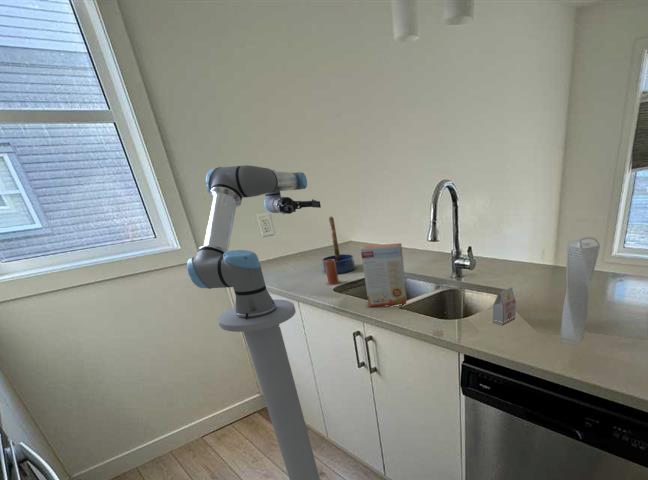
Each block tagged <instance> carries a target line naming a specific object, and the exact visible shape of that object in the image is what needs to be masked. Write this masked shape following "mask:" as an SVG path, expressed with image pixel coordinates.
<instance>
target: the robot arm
mask: <svg viewBox="0 0 648 480" xmlns="http://www.w3.org/2000/svg"><path fill="white" fill-rule="evenodd" d="M205 184H206V189H207V192H208V194H209V196H210V198H211V199H212V203H211V209H210V213H209V218H208V222H207V227H206V232H205V237H204V240H203V246H200V247H199V248H198V249H197V253H196V256H191V258H189V259H188V260H187V262H186V271H187V273H188V276H189V278H190V280H191V282H192V283H193V284H194V285H195V286H196V287H197V288H199V289H209V290H211V289H222V288H223V289H225V288H232V289H233V293H234V294H235V307H236V309H235V312H236V315H237V317H239V318H245V319H247V318H257V317H261V316H265V315H268V314H270V313H272V312H274V311H275V310H276V304H275V302H274V301H273V300H274V299H273V297H272V296H271V294H270V293H269V291H268V290H267V286H266V282H265V278H264V274H263V271H262V266H261V265H262V264H261V262H260V260H259V257H258V255H257V254H256V253H255V252H254V251H251V250H246V249H236V250H234V249H233V250H229V249H230V248H229V247H230V241H231V237H232V232H233V228H234V227H233V226H234V221H235V215H236V210H237V208H239V207H241V205H242V200H243V199H244V198H253V197H258V196H263V195H264V197H265V199H264V200H263V207H264V208H265V210H266V211H267V212H269V213H272V214H282V215H290V214H292V213H296V210H300V209H302V208H318V209H320V208H322V206H321V201H320V200H316V199H315V200H314V198H313V199H311V200H294V199H292V197H289V196H282V195H281V192H283V191H284V192H285V191H296V190H299V191H300V190H305V189H307V187H308V179H307V175H306V174H305V173H304V172H302V171H297V172H290V171H289V172H288V171H276V170H275V169H271V168H268V167H262V166H255V165H248V164H247V165H245V164H244V165H243V164H242V165H235V166H234V165H233V166H217V167H214V168H211V169H209V171H208V172H207V173H206V176H205Z"/></svg>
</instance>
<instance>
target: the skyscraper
mask: <svg viewBox="0 0 648 480" xmlns="http://www.w3.org/2000/svg"><path fill="white" fill-rule="evenodd" d="M591 240H593V241H595V244H594V243H591V242H592V241H591ZM600 248H601V244H600V241H599V240H598V239H597V238H596V237H593V236H583V237H581V238H580V239H574V240H573V239H572V240H570V241H569V242H567V249H566V265H565V266H566V267H565V269H566V271H565V274H566V275H565V277H566V279H565V280H566V284H565V285H566V291H565V294H564V300H563V307H562V314H561V324H560V332H559V344H563V345H569V346H577V347H580V346H581V342H582V341H583V339H584V336H585V331H586V327H587V320H588V316H589V306H590V284H591V281H592V278H593V275H594V272H595V269H596V265H597V260H598V256H599V251H600ZM582 335H584V336H582ZM581 336H582V338H581ZM560 338H566V339H571V340H576V341H579V339H580V338H581V339H580V341H579V343H577V342H573V341H567V340H560Z"/></svg>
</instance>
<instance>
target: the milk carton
mask: <svg viewBox="0 0 648 480" xmlns="http://www.w3.org/2000/svg"><path fill="white" fill-rule="evenodd" d="M494 300H495V301H494V302H493V305H492V324H494V325H497V326H502V327H503V326H505V325H507V324H509V323H510V322H513V321H514V320H516V310H517V309H516V308H517V300H516V297H515V293H514V290H513V287H508V288H506V289H504V290H502V291H499V292H498V293H497V296H496V298H495V299H494ZM514 316H515V317H514ZM512 317H513V318H512ZM510 318H511V319H510ZM508 319H509V320H508ZM494 320H497V321H494ZM506 320H507V321H506ZM498 321H501V322H503V323H501V322H498ZM504 321H505V322H504Z"/></svg>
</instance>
